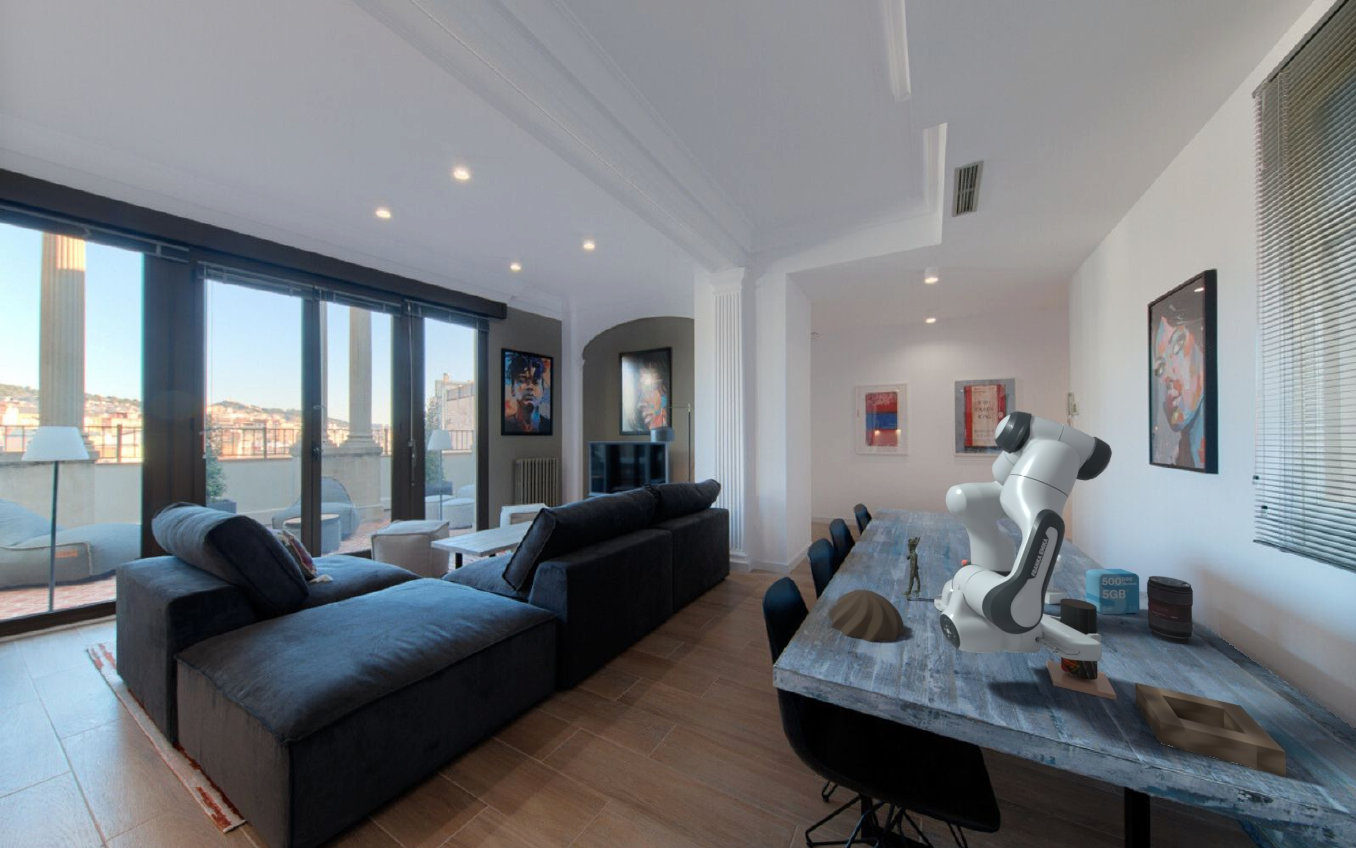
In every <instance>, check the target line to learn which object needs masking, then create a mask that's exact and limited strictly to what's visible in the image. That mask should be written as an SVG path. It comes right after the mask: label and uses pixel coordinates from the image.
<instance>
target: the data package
mask: <svg viewBox="0 0 1356 848" xmlns="http://www.w3.org/2000/svg"><path fill="white" fill-rule="evenodd" d="M1085 601H1086V602H1089V603H1091V604H1094V605H1095V606H1096V607H1097V613H1099V614H1102V615H1127V614H1126V613H1136V614H1138V613H1139V611H1140V610H1141V609H1140V607H1141V605H1140V601H1141V600H1140V577H1139V575H1138V574H1137V573H1135V572H1132V571H1129V570H1126V569H1122V568H1093V569H1092V568H1091V569H1088V570H1086V572H1085Z"/></svg>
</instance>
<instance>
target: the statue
mask: <svg viewBox="0 0 1356 848" xmlns="http://www.w3.org/2000/svg"><path fill="white" fill-rule="evenodd" d="M920 540H921V538H920V537H917V536H915V537H914V538H913V539H912V538H909V539H908V540H907V541H908V543H907V547H908V548H907V550H908V553H909V554H908V555H906V560H907V561H909V566H910V567H909V568H910V572H909V583H908V588H907V591H905V592H902V593H901V594H902V595H903V596H906V600H909V601H910V599H911V595H912V594H914V593H915V597H916V598H919V597H920V593H921V580H920V577H919V576H920V575H919V569H920V568H919V567H920V566H919V564H918V561H919V560H918V559H919V555H918V553H917V552H916V549H917V547H918V545H919V542H920ZM914 580H915V581H914ZM914 582H915V583H916V589H914V590H913V587H914V584H915V583H914Z"/></svg>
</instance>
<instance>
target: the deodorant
mask: <svg viewBox="0 0 1356 848" xmlns="http://www.w3.org/2000/svg"><path fill="white" fill-rule="evenodd" d="M1059 604H1060V617H1061V623H1063V624H1065V625H1067V626H1069V627H1071V628H1073V629H1075V630H1077V631H1079V632H1081V633H1083V634H1085V635H1087V632H1095V633H1097V634H1098V617H1097V616H1098V614H1097V613H1098V612H1097V607H1096V606H1095V605H1094V604H1091V603H1089V602H1086V600H1082V599H1081V600H1080V599H1076V598H1064V599H1061V600H1060V603H1059ZM1060 663H1061V668H1062V670H1063V671H1064V672H1066V673H1068V674H1070V675H1072V676H1075V677H1078V678H1082V679H1087V680H1094V679H1097V677H1098V672H1097V671H1098V661H1082V660H1071V659H1066V658H1063V657H1061V656H1060Z"/></svg>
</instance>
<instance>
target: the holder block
mask: <svg viewBox="0 0 1356 848" xmlns="http://www.w3.org/2000/svg"><path fill="white" fill-rule="evenodd" d="M1134 692H1135V693H1134V694H1135V696H1134V697H1135V699H1134V700H1135V701H1134V702H1135V704H1136V706H1137V707H1138V709H1139V711H1140V712H1141V714H1142V715H1143V717H1144V719H1145V720H1146V722H1147V724H1148V726H1149V727H1150V729H1151V730H1152V733H1153V734H1154V736H1155V735H1156V736H1155V737H1156V739H1157V738H1158V739H1157V740H1159V741H1160V742H1159V741H1158V742H1159V744H1160V743H1162V744H1165V745H1170V746H1173V747H1175V748H1174V749H1177V748H1179V749H1178V750H1181V749H1182V750H1181V751H1185V752H1188V751H1190V752H1189V753H1192V754H1196V755H1200V756H1203V755H1204V756H1203V757H1207V756H1211V757H1215V758H1218V759H1220V760H1219V761H1222V760H1223V761H1222V762H1226V761H1229V762H1228V763H1230V762H1234V763H1238V764H1241V765H1244V766H1243V767H1245V768H1249V767H1251V768H1250V769H1252V768H1254V769H1253V770H1256V771H1260V772H1264V773H1267V774H1268V773H1269V774H1272V775H1276V776H1279V777H1283V778H1286V777H1287V766H1286V765H1287V764H1286V763H1287V761H1286V755H1287V754H1286V750H1284V749H1283V748H1282V747H1281V746H1280V745H1279V744H1278V743H1277V742H1276V741H1275V740H1274V739H1273V737H1272V736H1270V734H1269V733H1268V732H1267V731H1266V730H1265V729H1264V728H1263V727H1262V726H1261V725H1260V724H1259V723H1258V721H1256V720H1255V718H1253V717H1252V716H1251V715H1250V713H1248V712H1247V711H1246V710H1245V708H1244V707H1243V706H1242V705H1240V704H1236V703H1231V702H1226V701H1222V700H1216V699H1213V698H1208V697H1203V696H1199V695H1193V694H1190V693H1184V692H1180V691H1174V690H1171V689H1168V688H1167V689H1165V688H1161V687H1157V686H1154V685H1153V686H1152V685H1147V684H1144V683H1139V682H1134ZM1162 744H1161V745H1162ZM1165 745H1164V746H1165ZM1173 747H1172V748H1173ZM1211 757H1210V758H1211ZM1215 758H1214V759H1215ZM1218 759H1217V760H1218ZM1234 763H1233V764H1234ZM1241 765H1240V766H1241Z"/></svg>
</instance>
